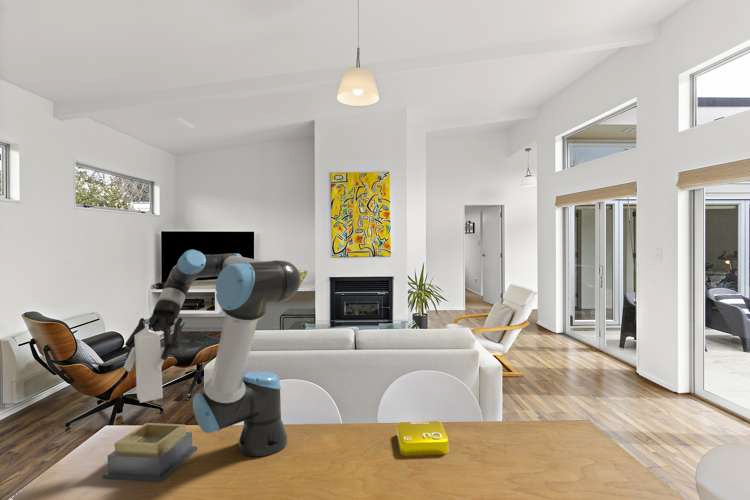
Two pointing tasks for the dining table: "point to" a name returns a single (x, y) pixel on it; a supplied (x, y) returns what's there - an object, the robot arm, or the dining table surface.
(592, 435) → the dining table surface
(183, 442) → the grey tan square box
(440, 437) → the element tile
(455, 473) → the dining table surface
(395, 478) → the dining table surface
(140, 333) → the milk
